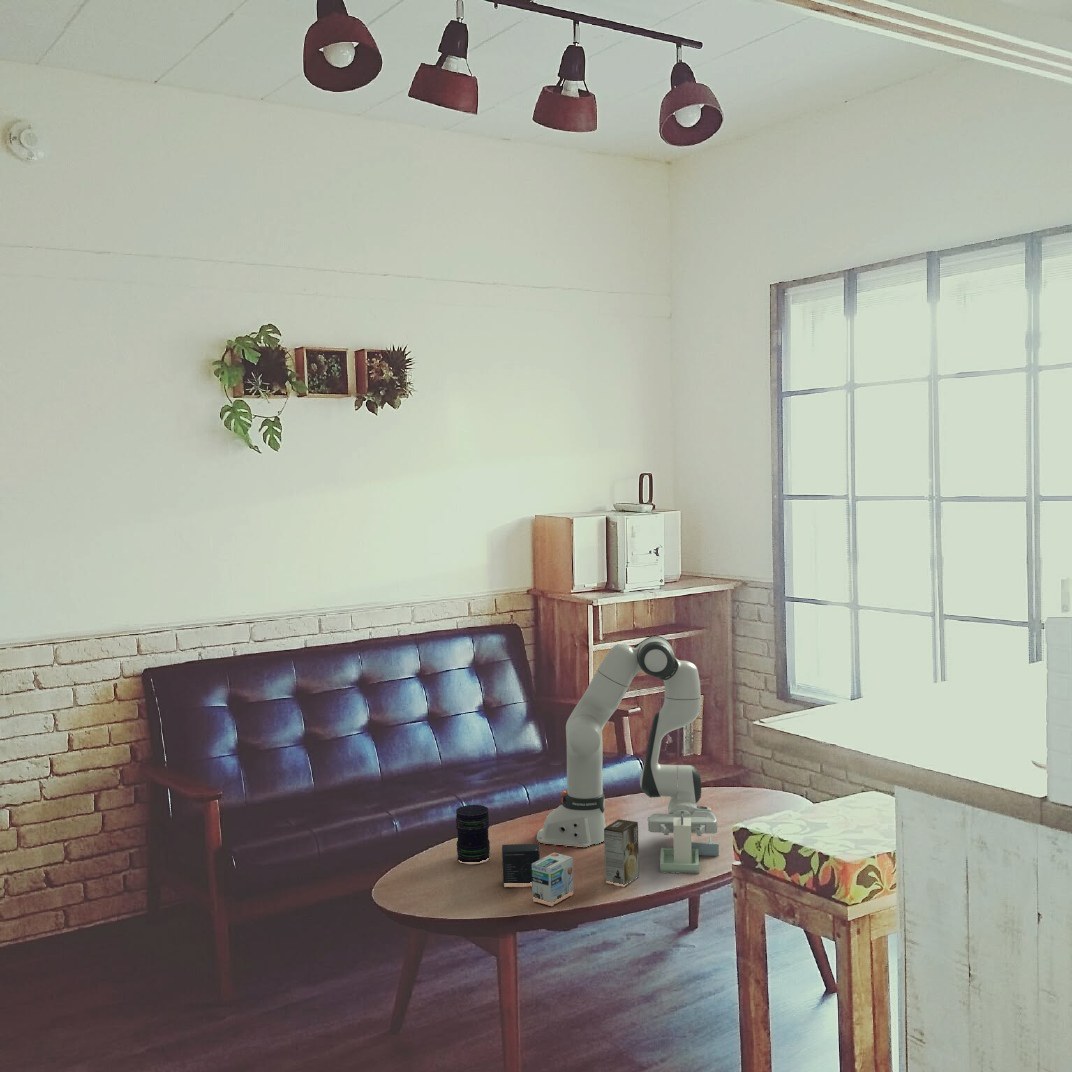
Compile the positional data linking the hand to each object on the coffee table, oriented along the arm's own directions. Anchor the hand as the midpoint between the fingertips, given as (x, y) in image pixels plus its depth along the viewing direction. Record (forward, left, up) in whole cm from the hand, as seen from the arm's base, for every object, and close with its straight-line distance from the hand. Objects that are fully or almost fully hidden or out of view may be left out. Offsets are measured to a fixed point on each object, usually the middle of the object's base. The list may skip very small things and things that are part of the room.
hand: (682, 832), depth 325 cm
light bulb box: (-35, -26, -10) cm, 45 cm away
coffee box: (-17, -12, -10) cm, 23 cm away
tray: (-1, +1, -10) cm, 10 cm away
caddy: (0, +1, -9) cm, 9 cm away
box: (-45, -16, -10) cm, 49 cm away
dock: (+5, +14, -10) cm, 18 cm away
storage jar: (-62, +2, -10) cm, 63 cm away
